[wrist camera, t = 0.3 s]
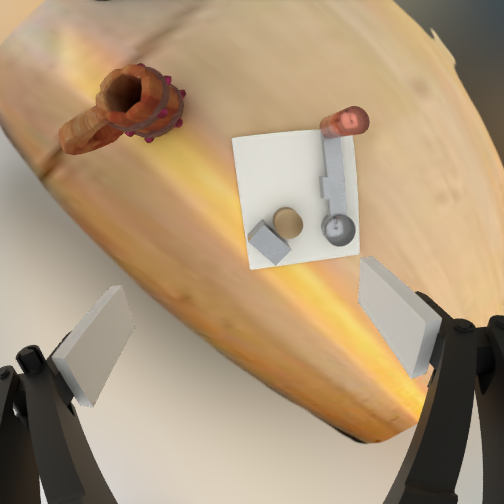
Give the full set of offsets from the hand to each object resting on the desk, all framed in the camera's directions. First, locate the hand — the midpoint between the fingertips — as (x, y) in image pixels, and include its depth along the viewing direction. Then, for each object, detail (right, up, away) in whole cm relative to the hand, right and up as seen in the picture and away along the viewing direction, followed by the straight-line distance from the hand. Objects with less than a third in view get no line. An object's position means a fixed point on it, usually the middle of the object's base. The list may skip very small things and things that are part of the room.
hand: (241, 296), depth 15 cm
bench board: (+7, +10, +25) cm, 28 cm away
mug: (-15, +21, +21) cm, 33 cm away
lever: (+12, +12, +22) cm, 28 cm away
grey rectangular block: (+3, +4, +26) cm, 26 cm away
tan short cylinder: (+5, +7, +25) cm, 26 cm away
